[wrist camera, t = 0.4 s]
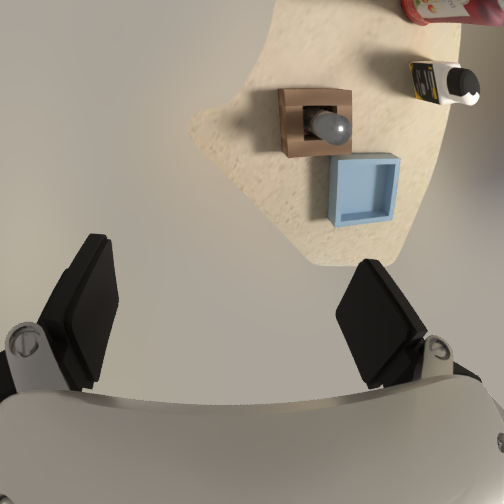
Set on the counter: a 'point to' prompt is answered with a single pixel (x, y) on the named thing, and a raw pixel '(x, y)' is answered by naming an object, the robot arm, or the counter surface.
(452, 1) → the liquor
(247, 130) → the counter surface
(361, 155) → the tray
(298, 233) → the counter surface
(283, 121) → the hole block
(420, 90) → the medicine bottle
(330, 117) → the peg
